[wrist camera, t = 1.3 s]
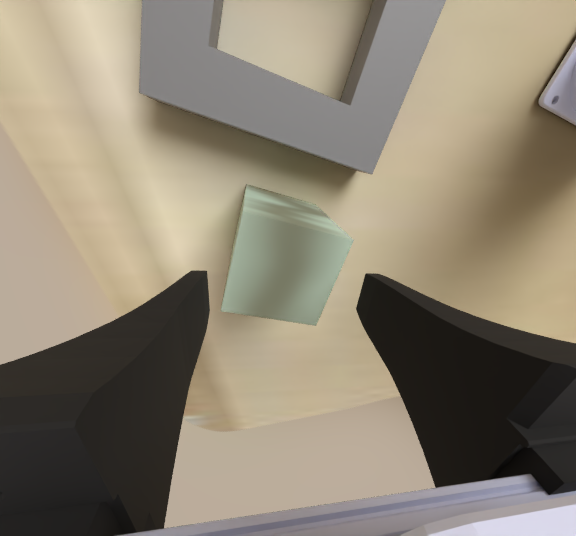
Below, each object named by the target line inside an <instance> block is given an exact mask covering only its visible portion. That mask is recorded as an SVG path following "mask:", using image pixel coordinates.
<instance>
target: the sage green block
mask: <svg viewBox="0 0 576 536" xmlns="http://www.w3.org/2000/svg"><path fill="white" fill-rule="evenodd" d="M353 241H354V240H353V239H352V238H351V237H350V236H349V235H348V234H347V233H345V232H344V231H343V230H342V229H341V228H340V227H339V226H338V225H337V224H336V223H335V222H334V221H333V220H331V219H330V218H329V217H328V216H327V215H326V214H325V213H324V212H323V211H322V210H321V209H320V208H319V207H317V206H316V205H315V204H312V203H308V202H305V201H302V200H298V199H295V198H291V197H288V196H284V195H281V194H278V193H274V192H271V191H267V190H264V189H261V188H257V187H254V186H250V185H247V184H246V189H245V193H244V198H243V202H242V207H241V211H240V216H239V221H238V225H237V230H236V234H235V239H234V244H233V248H232V253H231V258H230V264H229V269H228V274H227V280H226V285H225V291H224V296H223V301H222V307H221V311H223V312H229V313H236V314H243V315H249V316H256V317H262V318H269V319H275V320H282V321H288V322H295V323H301V324H308V325H315V326H316V324H317V322H318V320H319V318H320V315H321V313H322V311H323V309H324V306H325V304H326V302H327V300H328V297H329V295H330V293H331V291H332V288H333V286H334V284H335V281H336V279H337V277H338V275H339V272H340V270H341V268H342V266H343V263H344V261H345V259H346V257H347V254H348V252H349V250H350V248H351V245H352V243H353Z"/></svg>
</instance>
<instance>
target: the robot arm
mask: <svg viewBox="0 0 576 536" xmlns="http://www.w3.org/2000/svg"><path fill="white" fill-rule="evenodd" d="M552 100H553V101H552ZM539 105H540V106H541V107H543V108H545V109H547V110H549V111H550V112H552V113H554V114H556V115H558V116H559V117H561V118H563V119H565V120H567V121H569V122H570V123H572V124H574V125H576V40H575V42H574V43H573V45H572V46H571V48H570V50H569V51H568V53H567V54H566V56H565V58H564V59H563V61H562V62H561V64H560V66H559V67H558V69H557V70H556V72H555V74H554V75H553V77H552V78H551V80H550V82H549V83H548V85H547V86H546V88H545V90H544V91H543V93H542V94H541V96H540V98H539ZM356 310H357V312H358V315H359V318H360V320H361V323H362V325H363V327H364V329H365V331H366V333H367V334H368V336H369V338H370V339H371V341H372V343H373V345H374V346H375V348H376V350H377V351H378V353H379V355H380V356H381V358H382V360H383V361H384V363H385V365H386V366H387V368H388V370H389V372H390V374H391V376H392V378H393V380H394V382H395V384H396V386H397V388H398V391H399V393H400V395H401V397H402V399H403V402H404V404H405V406H406V409H407V411H408V414H409V415H410V418H411V421H412V423H413V425H414V428H415V431H416V434H417V436H418V439H419V441H420V444H421V447H422V449H423V452H424V455H425V458H426V461H427V463H428V466H429V469H430V472H431V475H432V478H433V481H434V484H435V487H436V488H432V489H425V490H419V491H412V492H405V493H398V494H391V495H385V496H378V497H371V498H364V499H358V500H351V501H344V502H338V503H332V504H324V505H318V506H311V507H305V508H298V509H291V510H284V511H278V512H271V513H265V514H257V515H251V516H245V517H238V518H231V519H224V520H217V521H211V522H204V523H197V524H191V525H184V526H177V527H171V528H164V523H165V517H166V511H167V505H168V499H169V492H170V485H171V479H172V474H173V468H174V463H175V457H176V451H177V445H178V440H179V435H180V429H181V424H182V419H183V414H184V409H185V404H186V399H187V395H188V390H189V386H190V382H191V378H192V375H193V372H194V369H195V365H196V362H197V359H198V356H199V353H200V349H201V346H202V343H203V340H204V336H205V333H206V329H207V324H208V318H209V311H210V308H209V293H208V279H207V271H190V272H189V273H187V274H186V275H185V276H183V277H182V278H181V279H179V280H178V281H177V282H175V283H174V284H172V285H171V286H170V287H168V288H167V289H166V290H164V291H163V292H161V293H160V294H158V295H157V296H155V297H154V298H152V299H150V300H149V301H147V302H146V303H144V304H143V305H141V306H139V307H138V308H136V309H134V310H133V311H131V312H129V313H127V314H125V315H123V316H121V317H119V318H118V319H116V320H114V321H112V322H110V323H108V324H105V325H103V326H101V327H99V328H97V329H94V330H92V331H90V332H87V333H85V334H83V335H81V336H79V337H76V338H74V339H71V340H69V341H66V342H64V343H61V344H59V345H56V346H54V347H51V348H48V349H46V350H43V351H40V352H37V353H35V354H32V355H29V356H26V357H23V358H20V359H18V360H15V361H11V362H8V363H5V364H2V365H0V536H576V344H575V343H570V342H566V341H561V340H556V339H552V338H548V337H544V336H540V335H536V334H532V333H528V332H525V331H521V330H517V329H514V328H510V327H507V326H504V325H501V324H497V323H494V322H491V321H488V320H485V319H482V318H479V317H476V316H473V315H471V314H468V313H465V312H463V311H460V310H457V309H455V308H452V307H450V306H448V305H445V304H443V303H441V302H439V301H436V300H434V299H432V298H430V297H428V296H425V295H423V294H421V293H419V292H417V291H415V290H413V289H411V288H409V287H407V286H405V285H403V284H401V283H399V282H397V281H394V280H392V279H390V278H388V277H386V276H383V275H380V274H365V278H364V282H363V285H362V289H361V293H360V297H359V300H358V304H357V308H356Z"/></svg>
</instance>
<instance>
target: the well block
mask: <svg viewBox="0 0 576 536" xmlns="http://www.w3.org/2000/svg"><path fill="white" fill-rule="evenodd" d="M445 2H446V0H373V3H372V6H371V9H370V12H369V15H368V18H367V21H366V24H365V27H364V30H363V33H362V36H361V39H360V42H359V45H358V48H357V51H356V54H355V57H354V60H353V63H352V66H351V70H350V73H349V76H348V79H347V82H346V85H345V88H344V91H343V94H342V97H341V100H340V101H338V100H336V99H333V98H331V97H328V96H326V95H324V94H321V93H319V92H317V91H314V90H312V89H310V88H307V87H305V86H303V85H300V84H298V83H295V82H293V81H291V80H288V79H286V78H284V77H281V76H279V75H277V74H274V73H272V72H269V71H267V70H265V69H262V68H260V67H258V66H255V65H253V64H251V63H248V62H246V61H244V60H241V59H239V58H236V57H234V56H232V55H229V54H227V53H225V52H222V51H220V50H218V49H217V44H218V36H219V29H220V22H221V14H222V7H223V0H142V20H141V52H140V83H139V93H141V94H143V95H145V96H147V97H149V98H152V99H154V100H156V101H159V102H161V103H164V104H167V105H170V106H173V107H176V108H179V109H181V110H184V111H187V112H190V113H193V114H196V115H199V116H202V117H204V118H207V119H210V120H213V121H216V122H219V123H222V124H225V125H227V126H230V127H233V128H236V129H239V130H242V131H245V132H247V133H250V134H253V135H256V136H259V137H262V138H265V139H268V140H270V141H273V142H276V143H279V144H282V145H285V146H288V147H290V148H293V149H296V150H299V151H302V152H305V153H308V154H311V155H313V156H316V157H319V158H322V159H325V160H328V161H331V162H334V163H336V164H339V165H342V166H345V167H348V168H351V169H354V170H356V171H360V172H364V173H369V174H373V171H374V169H375V167H376V164H377V162H378V159H379V157H380V155H381V152H382V150H383V148H384V145H385V143H386V141H387V138H388V136H389V134H390V131H391V129H392V126H393V124H394V122H395V119H396V117H397V115H398V112H399V110H400V108H401V105H402V103H403V101H404V98H405V96H406V93H407V91H408V89H409V86H410V84H411V82H412V79H413V77H414V75H415V72H416V70H417V68H418V65H419V63H420V60H421V58H422V56H423V53H424V51H425V49H426V46H427V44H428V42H429V39H430V37H431V35H432V32H433V30H434V27H435V25H436V23H437V20H438V18H439V16H440V13H441V11H442V9H443V6H444V4H445Z"/></svg>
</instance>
